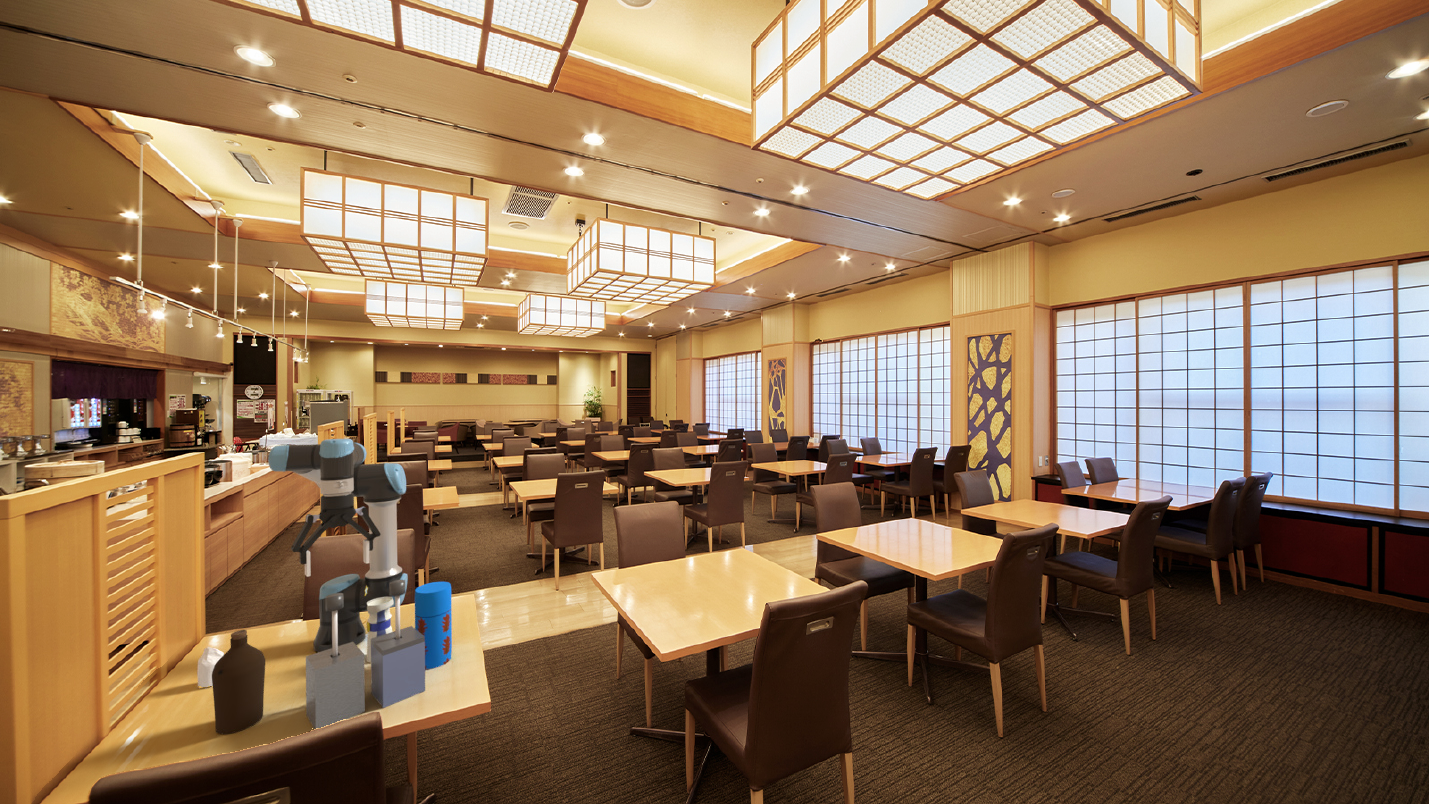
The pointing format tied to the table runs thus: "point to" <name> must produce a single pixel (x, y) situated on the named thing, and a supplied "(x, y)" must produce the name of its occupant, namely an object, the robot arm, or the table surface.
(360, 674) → the block
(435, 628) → the thermos
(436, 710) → the table surface
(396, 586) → the gray knob plunger
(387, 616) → the water bottle
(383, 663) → the indigo press
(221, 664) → the olive oil
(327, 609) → the steel plunger
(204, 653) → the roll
